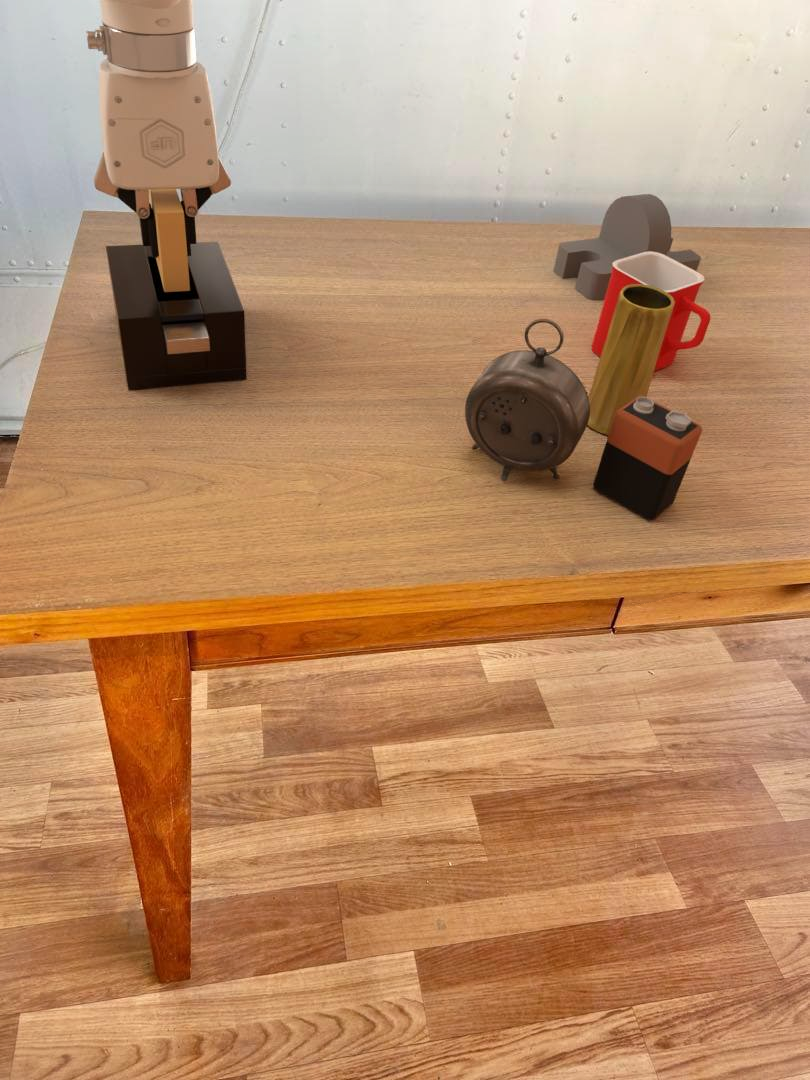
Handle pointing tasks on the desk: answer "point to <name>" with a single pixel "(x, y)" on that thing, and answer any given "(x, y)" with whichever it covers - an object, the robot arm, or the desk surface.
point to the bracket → (620, 243)
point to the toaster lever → (186, 338)
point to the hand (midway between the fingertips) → (170, 249)
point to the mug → (669, 279)
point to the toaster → (176, 318)
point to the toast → (170, 239)
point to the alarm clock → (527, 410)
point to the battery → (646, 456)
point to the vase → (629, 352)
